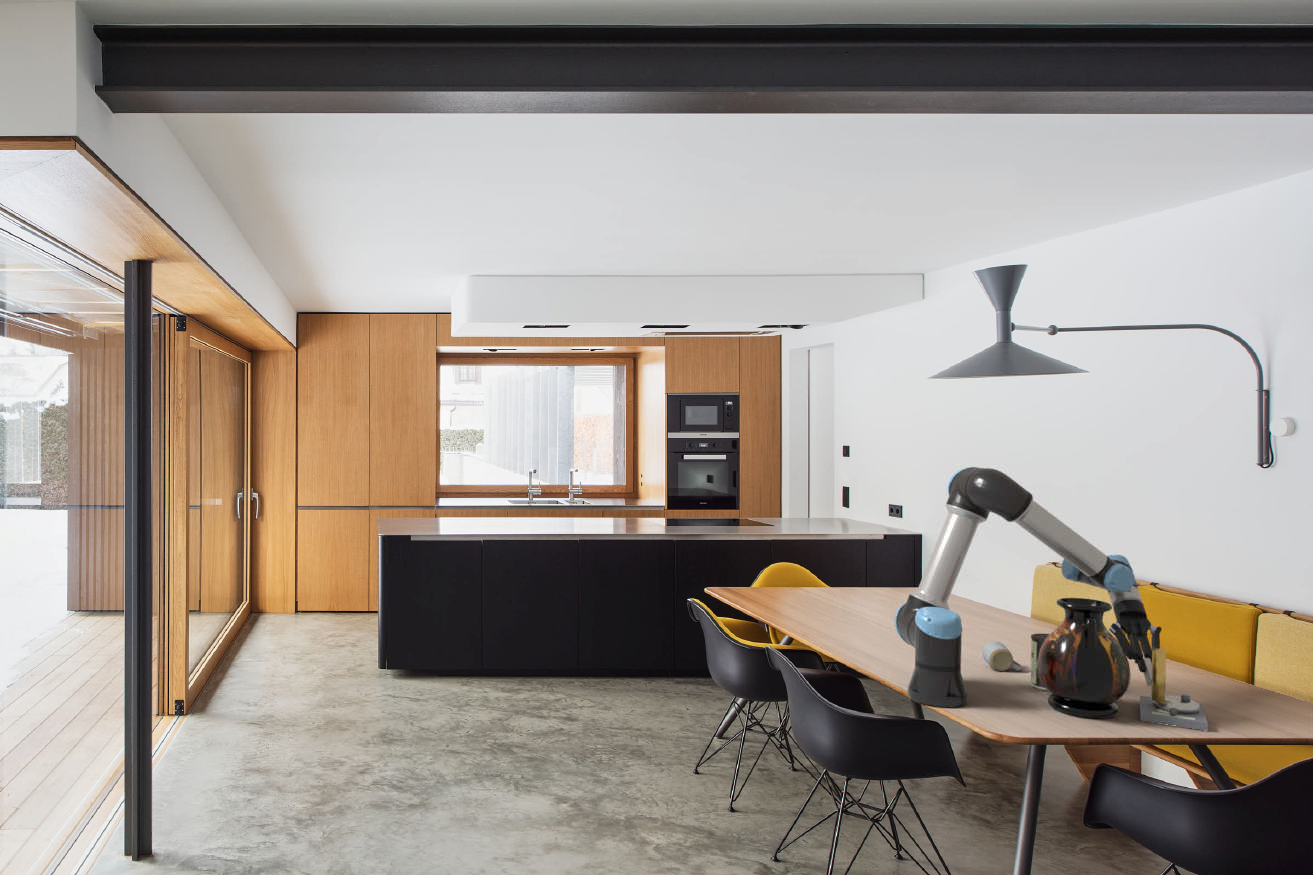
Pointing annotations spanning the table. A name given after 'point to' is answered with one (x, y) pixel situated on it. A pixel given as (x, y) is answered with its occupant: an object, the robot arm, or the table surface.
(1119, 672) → the brown glazed vase
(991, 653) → the ceramic mug
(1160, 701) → the lever
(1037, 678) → the coffee can
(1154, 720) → the grey crank mechanism
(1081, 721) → the table surface
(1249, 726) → the table surface
